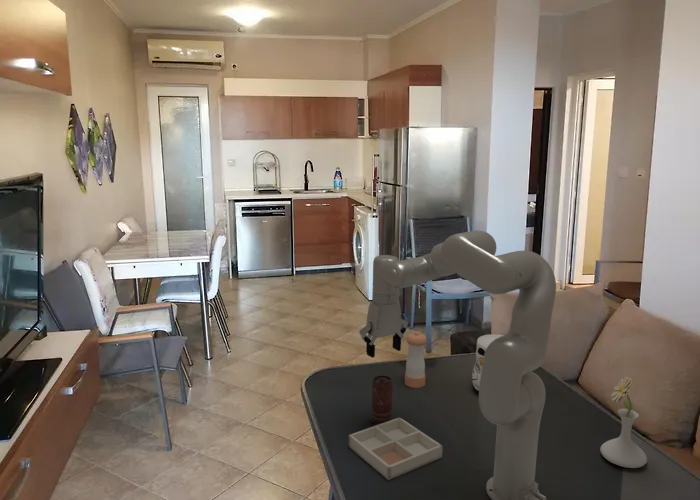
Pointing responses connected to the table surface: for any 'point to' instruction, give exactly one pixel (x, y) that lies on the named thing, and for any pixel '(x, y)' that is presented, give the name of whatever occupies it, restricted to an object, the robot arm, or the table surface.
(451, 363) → the table surface
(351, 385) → the table surface
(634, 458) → the flower in vase
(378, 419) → the can
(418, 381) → the pepper shaker
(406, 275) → the robot arm
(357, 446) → the divided tray
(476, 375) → the milk container
